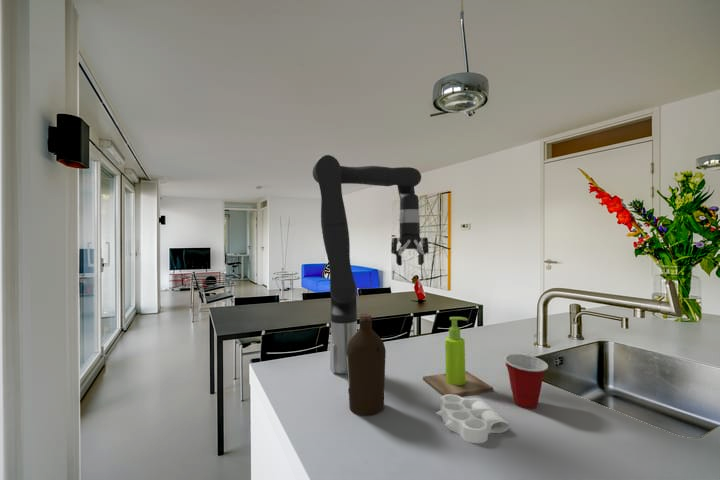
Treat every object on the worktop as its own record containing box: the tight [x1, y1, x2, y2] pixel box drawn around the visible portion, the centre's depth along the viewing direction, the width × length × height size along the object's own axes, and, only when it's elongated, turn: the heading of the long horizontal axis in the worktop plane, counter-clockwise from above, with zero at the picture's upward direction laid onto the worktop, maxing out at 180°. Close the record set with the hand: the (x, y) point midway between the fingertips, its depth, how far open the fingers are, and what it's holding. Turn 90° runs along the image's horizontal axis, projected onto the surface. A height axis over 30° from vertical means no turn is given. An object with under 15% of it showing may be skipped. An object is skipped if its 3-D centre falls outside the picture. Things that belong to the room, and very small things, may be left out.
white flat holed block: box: [435, 394, 510, 444], centre depth 85 cm, size 3×18×15 cm
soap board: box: [422, 370, 494, 397], centre depth 106 cm, size 16×14×1 cm
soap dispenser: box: [444, 316, 469, 385], centre depth 106 cm, size 6×7×20 cm
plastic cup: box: [503, 353, 549, 410], centre depth 93 cm, size 11×11×12 cm
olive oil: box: [346, 313, 387, 416], centre depth 93 cm, size 11×11×25 cm
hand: (410, 265), depth 129 cm, fingers open, 8 cm apart
